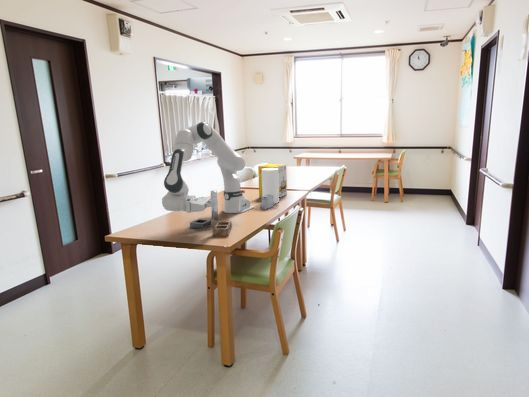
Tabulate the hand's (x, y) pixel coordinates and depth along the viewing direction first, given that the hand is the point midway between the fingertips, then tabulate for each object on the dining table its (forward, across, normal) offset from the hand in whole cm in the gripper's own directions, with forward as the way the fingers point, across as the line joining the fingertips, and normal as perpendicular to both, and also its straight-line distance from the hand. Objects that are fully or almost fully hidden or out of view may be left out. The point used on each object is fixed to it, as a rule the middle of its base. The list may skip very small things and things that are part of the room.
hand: (216, 203), depth 207 cm
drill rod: (-1, 0, -9) cm, 9 cm away
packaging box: (+24, -98, -17) cm, 103 cm away
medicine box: (+23, -59, -17) cm, 66 cm away
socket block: (-13, -13, -17) cm, 25 cm away
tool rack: (+3, -1, -17) cm, 17 cm away
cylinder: (+24, -77, -17) cm, 82 cm away
